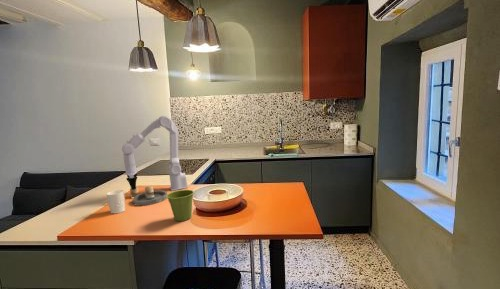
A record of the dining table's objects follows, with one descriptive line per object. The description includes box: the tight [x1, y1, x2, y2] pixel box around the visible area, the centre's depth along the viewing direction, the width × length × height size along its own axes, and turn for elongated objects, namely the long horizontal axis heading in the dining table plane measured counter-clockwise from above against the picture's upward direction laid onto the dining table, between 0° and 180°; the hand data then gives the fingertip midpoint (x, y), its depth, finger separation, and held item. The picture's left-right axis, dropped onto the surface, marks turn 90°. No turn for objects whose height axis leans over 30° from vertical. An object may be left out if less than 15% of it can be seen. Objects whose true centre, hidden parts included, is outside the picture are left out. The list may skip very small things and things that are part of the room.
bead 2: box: [144, 185, 155, 196], centre depth 165 cm, size 4×4×5 cm
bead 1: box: [129, 186, 140, 198], centre depth 169 cm, size 4×4×5 cm
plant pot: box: [166, 189, 195, 222], centre depth 129 cm, size 12×12×11 cm
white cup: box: [105, 189, 126, 214], centre depth 146 cm, size 8×8×10 cm
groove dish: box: [132, 190, 168, 206], centre depth 160 cm, size 18×18×2 cm
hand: (133, 187), depth 168 cm, fingers open, 7 cm apart
